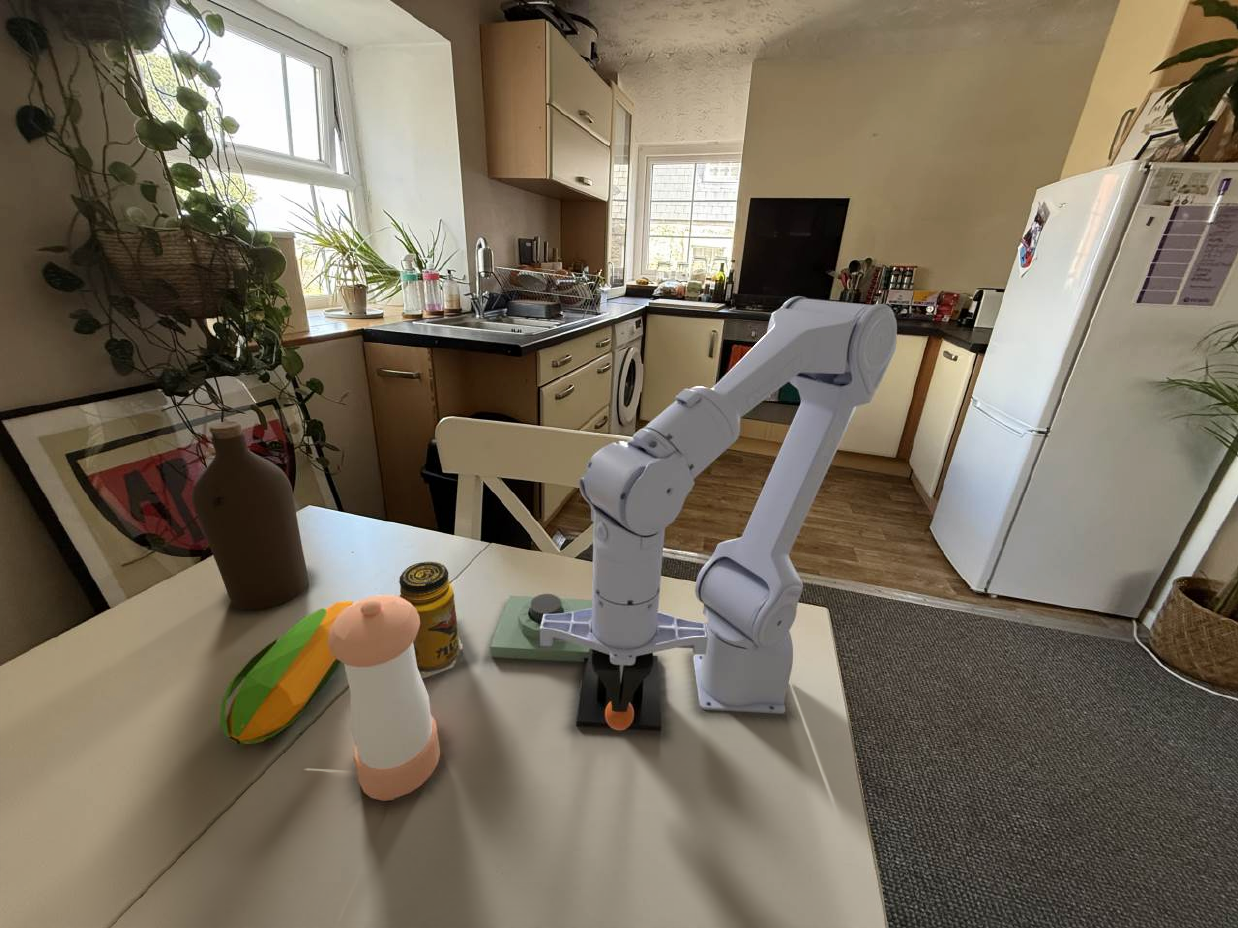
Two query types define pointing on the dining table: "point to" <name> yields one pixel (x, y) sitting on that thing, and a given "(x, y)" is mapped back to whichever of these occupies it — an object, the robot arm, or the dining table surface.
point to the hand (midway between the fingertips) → (619, 702)
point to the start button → (544, 606)
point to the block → (534, 633)
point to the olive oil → (250, 523)
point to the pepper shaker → (386, 696)
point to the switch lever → (619, 714)
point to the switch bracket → (598, 698)
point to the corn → (281, 679)
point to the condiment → (432, 616)
